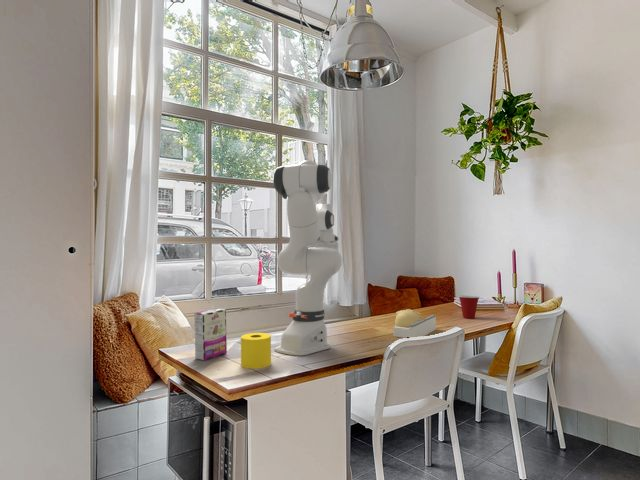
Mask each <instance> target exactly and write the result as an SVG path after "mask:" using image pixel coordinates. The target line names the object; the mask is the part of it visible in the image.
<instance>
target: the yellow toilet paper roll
mask: <svg viewBox="0 0 640 480" xmlns="http://www.w3.org/2000/svg"><path fill="white" fill-rule="evenodd" d="M271 338H272V335H271V334H269V333H265V332H251V333H245V334H242V335H241V336H240V366H241V367H243V368H245V369H252V370H253V369H255V370H256V369H264V368H267V367H270V366H271V364H272V339H271Z"/></svg>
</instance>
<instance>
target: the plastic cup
mask: <svg viewBox="0 0 640 480" xmlns="http://www.w3.org/2000/svg"><path fill="white" fill-rule="evenodd" d="M458 298H459V302H460V307H461V313H462V317H463V319H467V320H468V319H469V320H474V319H475V318H476V314H477V313H476V312H477V307H478V304H479V303H478V302H479V299H480V296H476V295H460V294H459V295H458Z"/></svg>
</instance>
